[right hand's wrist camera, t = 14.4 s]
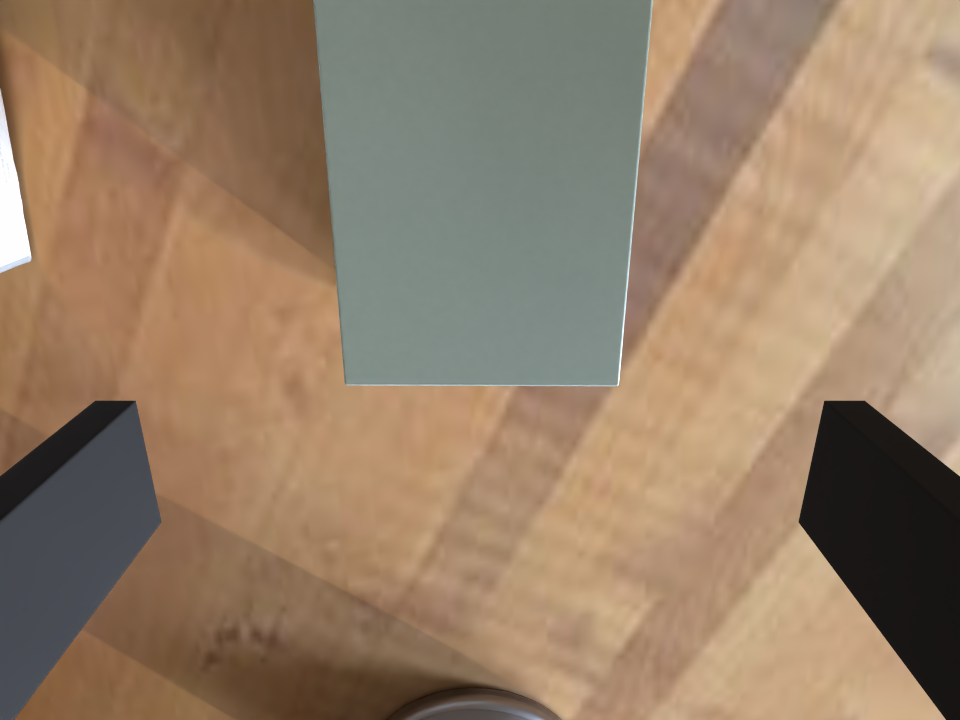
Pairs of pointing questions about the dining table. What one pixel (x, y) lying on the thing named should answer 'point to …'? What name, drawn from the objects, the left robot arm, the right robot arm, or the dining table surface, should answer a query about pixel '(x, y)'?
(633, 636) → the dining table surface
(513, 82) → the cabinet
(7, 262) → the hard drive box
